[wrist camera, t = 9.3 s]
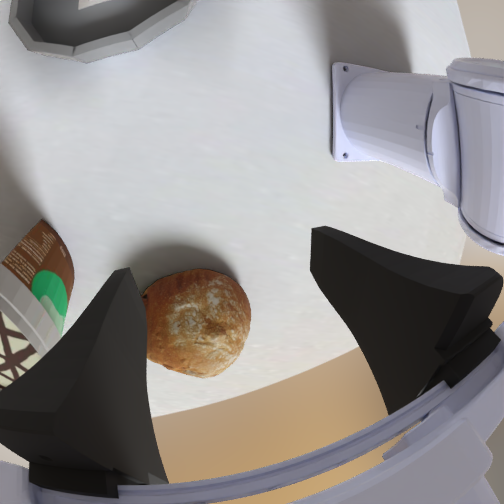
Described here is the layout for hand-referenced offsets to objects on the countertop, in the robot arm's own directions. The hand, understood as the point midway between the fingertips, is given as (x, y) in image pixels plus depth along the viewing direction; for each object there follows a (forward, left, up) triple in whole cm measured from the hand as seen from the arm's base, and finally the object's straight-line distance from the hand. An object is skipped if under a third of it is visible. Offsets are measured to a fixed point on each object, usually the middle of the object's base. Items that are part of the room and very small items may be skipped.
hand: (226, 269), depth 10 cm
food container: (+14, +5, -10) cm, 18 cm away
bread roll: (+3, +11, -10) cm, 15 cm away
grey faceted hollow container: (+5, -17, -10) cm, 20 cm away
